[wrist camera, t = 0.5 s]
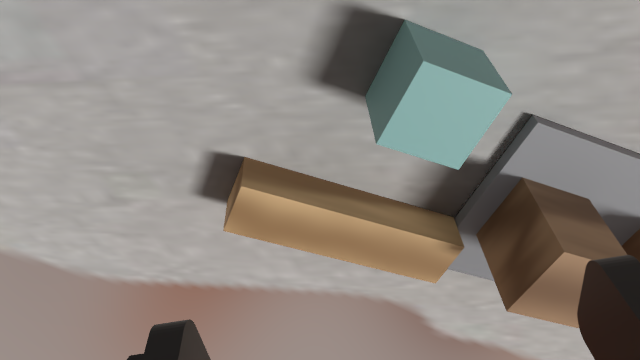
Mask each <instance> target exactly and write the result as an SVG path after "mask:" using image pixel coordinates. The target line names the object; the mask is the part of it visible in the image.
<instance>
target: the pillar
mask: <svg viewBox="0 0 640 360" xmlns="http://www.w3.org/2000/svg"><path fill="white" fill-rule="evenodd" d="M476 236H477V238H478V241H479V243H480V246H481V248H482V251H483V253H484V256H485V258H486V261H487V263H488V266H489V268H490V271H491V273H492V276H493V278H494V281H495V283H496V286H497V288H498V291H499V293H500V296H501V298H502V301H503V303H504V306H505V308H506V311H508V312H512V313H517V314H521V315H525V316H529V317H533V318H538V319H542V320H546V321H550V322H554V323H559V324H563V325H567V326H571V327H576V328H579V324H578V318H577V310H578V304H579V299H580V294H581V289H582V284H583V279H584V273H585V268H586V265H587V263H588V262H589V261H591V260H597V259H604V258H610V257H617V256H624V255H627V253H626V252H625V251H624V249H623V248H622V246H621V245H620V243H619V242H618V240H617V239H616V238H615V236H614V235H613V233H612V232H611V230H610V229H609V227H608V226H607V224H606V223H605V222H604V220H603V219H602V217H601V216H600V214H599V213H598V211H597V210H596V208H595V207H594V206H593V204H592V203H591V201H590V200H589V199H587V198H584V197H581V196H578V195H575V194H572V193H569V192H566V191H563V190H560V189H557V188H554V187H551V186H547V185H544V184H541V183H538V182H535V181H532V180H529V179H526V178H523V177H522V178H521V180H520V181H519V182H518V183H517V185H516V186H515V187H514V188H513V189H512V191H511V192H510V193H509V194H508V196H507V197H506V198H505V199H504V201H503V202H502V203H501V204H500V206H499V207H498V208H497V209H496V211H495V212H494V213H493V214H492V215H491V217H490V218H489V219H488V220H487V222H486V223H485V224H484V225H483V227H482V228H481V229H480V230H479V232H478V233H477V234H476Z"/></svg>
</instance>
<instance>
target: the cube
mask: <svg viewBox="0 0 640 360" xmlns="http://www.w3.org/2000/svg"><path fill="white" fill-rule="evenodd" d="M511 95H512V93H511V92H510V90H509V89H508V87H507V86H506V84H505V83H504V81H503V80H502V78H501V77H500V75H499V74H498V72H497V71H496V69H495V68H494V66H493V65H492V63H491V62H490V60H489V59H488V57H487V56H486V54H485V53H484V51H483V50H480V49H478V48H475V47H473V46H470V45H467V44H465V43H462V42H460V41H457V40H455V39H452V38H450V37H447V36H445V35H442V34H440V33H437V32H435V31H432V30H430V29H427V28H425V27H422V26H420V25H417V24H414V23H412V22H409V21H407V20H404V22H403V24H402V26H401V28H400V30H399V32H398V34H397V36H396V38H395V40H394V42H393V43H392V45H391V47H390V49H389V51H388V53H387V55H386V57H385V59H384V61H383V63H382V65H381V67H380V69H379V71H378V72H377V74H376V76H375V78H374V80H373V82H372V84H371V86H370V88H369V90H368V92H367V94H366V96H365V98H366V102H367V106H368V110H369V115H370V119H371V123H372V128H373V132H374V136H375V140H376V144H378V145H381V146H384V147H387V148H391V149H394V150H397V151H400V152H403V153H406V154H410V155H413V156H416V157H419V158H422V159H425V160H429V161H432V162H435V163H438V164H441V165H444V166H448V167H451V168H454V169H457V170H459V169H460V167H461V166H462V164H463V163H464V162H465V160H466V159H467V157H468V156H469V154H470V153H471V152H472V150H473V149H474V147H475V146H476V145H477V143H478V142H479V140H480V139H481V138H482V136H483V135H484V133H485V132H486V131H487V129H488V128H489V126H490V125H491V123H492V122H493V121H494V119H495V118H496V116H497V115H498V114H499V112H500V111H501V109H502V108H503V107H504V105H505V104H506V102H507V101H508V100H509V98H510V97H511Z"/></svg>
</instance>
